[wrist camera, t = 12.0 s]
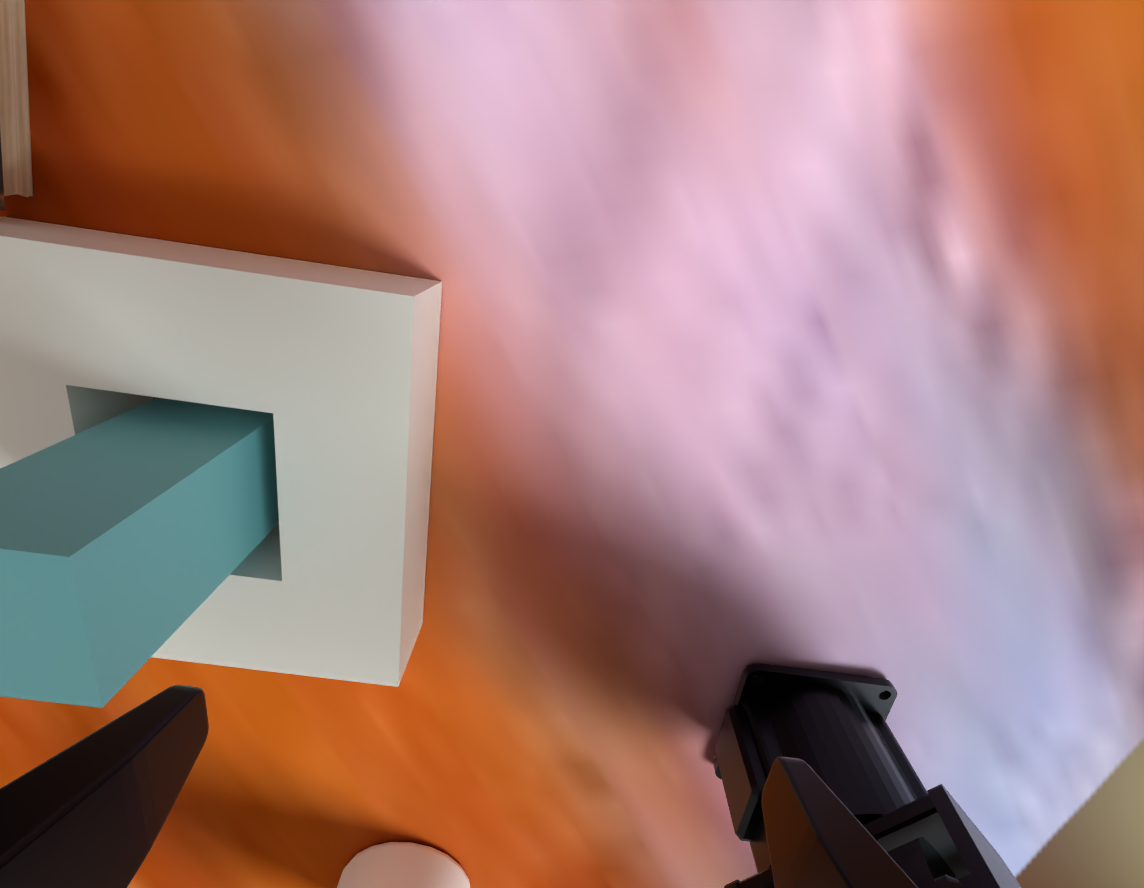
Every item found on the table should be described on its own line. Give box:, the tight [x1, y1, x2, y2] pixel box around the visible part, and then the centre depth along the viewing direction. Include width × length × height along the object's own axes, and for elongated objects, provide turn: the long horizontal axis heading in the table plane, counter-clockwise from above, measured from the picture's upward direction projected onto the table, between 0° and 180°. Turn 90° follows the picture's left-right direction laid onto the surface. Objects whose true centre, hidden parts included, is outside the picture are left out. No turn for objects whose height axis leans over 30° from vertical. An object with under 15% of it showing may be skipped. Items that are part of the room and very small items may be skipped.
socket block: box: [0, 217, 442, 687], centre depth 20 cm, size 14×14×4 cm
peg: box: [0, 398, 279, 708], centre depth 17 cm, size 4×4×10 cm
